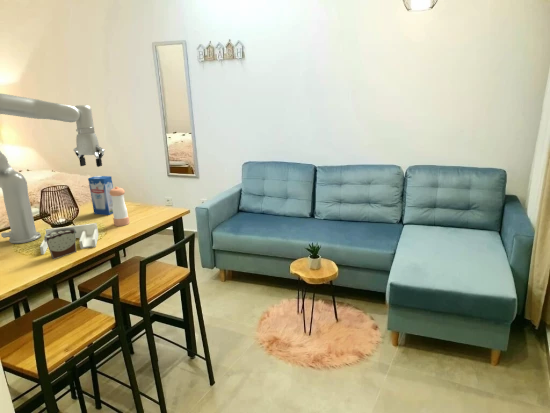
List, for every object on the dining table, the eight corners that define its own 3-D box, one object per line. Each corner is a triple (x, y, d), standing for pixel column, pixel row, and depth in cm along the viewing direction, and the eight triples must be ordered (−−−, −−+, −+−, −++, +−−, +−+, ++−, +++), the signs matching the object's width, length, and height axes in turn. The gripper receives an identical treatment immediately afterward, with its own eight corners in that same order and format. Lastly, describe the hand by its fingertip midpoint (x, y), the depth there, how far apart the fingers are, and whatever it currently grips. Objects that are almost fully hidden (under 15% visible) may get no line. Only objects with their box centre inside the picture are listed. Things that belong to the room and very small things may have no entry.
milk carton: (94, 214, 222) (87, 178, 216) (101, 210, 228) (96, 175, 222) (109, 215, 219) (103, 178, 213) (116, 211, 225) (111, 176, 219)
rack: (41, 254, 169) (38, 241, 167) (48, 241, 183) (45, 229, 181) (95, 246, 175) (93, 233, 174) (98, 235, 189) (96, 222, 188)
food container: (73, 247, 176) (68, 225, 173) (79, 250, 172) (75, 228, 169) (43, 257, 167) (38, 234, 164) (49, 260, 163) (44, 237, 160)
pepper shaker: (124, 226, 200) (118, 188, 195) (111, 226, 202) (105, 188, 196) (132, 221, 207) (127, 185, 201) (119, 221, 208) (113, 184, 203)
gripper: (65, 132, 197) (71, 166, 202) (95, 132, 192) (100, 167, 197) (77, 130, 204) (82, 164, 209) (106, 130, 199) (110, 165, 204)
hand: (91, 166), depth 203 cm, fingers open, 9 cm apart
